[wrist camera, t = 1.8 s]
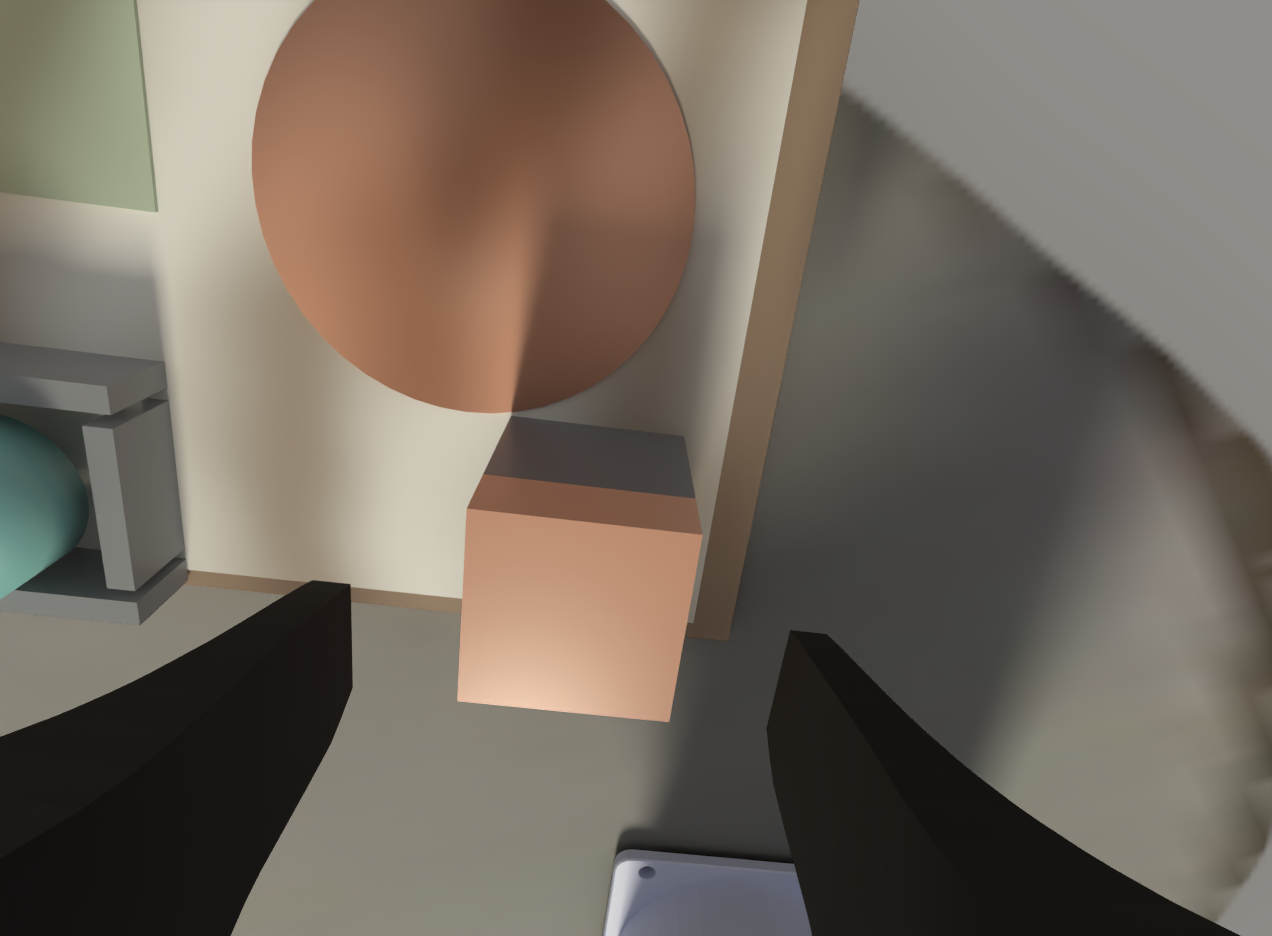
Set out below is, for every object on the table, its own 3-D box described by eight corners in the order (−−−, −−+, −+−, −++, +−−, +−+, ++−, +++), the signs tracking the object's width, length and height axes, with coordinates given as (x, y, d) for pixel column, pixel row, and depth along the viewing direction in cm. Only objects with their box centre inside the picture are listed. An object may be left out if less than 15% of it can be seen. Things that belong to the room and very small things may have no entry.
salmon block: (683, 436, 17) (702, 535, 13) (659, 585, 19) (669, 722, 14) (510, 415, 17) (466, 508, 13) (500, 568, 19) (457, 701, 14)
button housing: (164, 362, 17) (106, 386, 15) (188, 580, 19) (140, 625, 17) (-99, 329, 16) (-191, 351, 15) (-45, 555, 19) (-121, 599, 17)
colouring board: (868, -82, 14) (881, -95, 14) (725, 628, 20) (728, 645, 20) (-239, -255, 13) (-292, -280, 13) (-49, 546, 19) (-77, 561, 18)
